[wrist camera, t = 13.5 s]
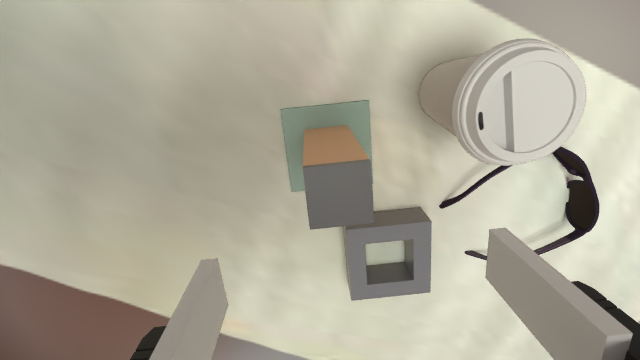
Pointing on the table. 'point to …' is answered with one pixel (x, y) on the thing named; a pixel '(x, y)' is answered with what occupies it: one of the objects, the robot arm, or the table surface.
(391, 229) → the grey square frame
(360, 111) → the pad
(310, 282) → the table surface
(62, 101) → the table surface
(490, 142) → the coffee cup
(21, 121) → the table surface
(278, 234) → the table surface
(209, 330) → the robot arm
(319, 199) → the plug
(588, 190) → the sunglasses
